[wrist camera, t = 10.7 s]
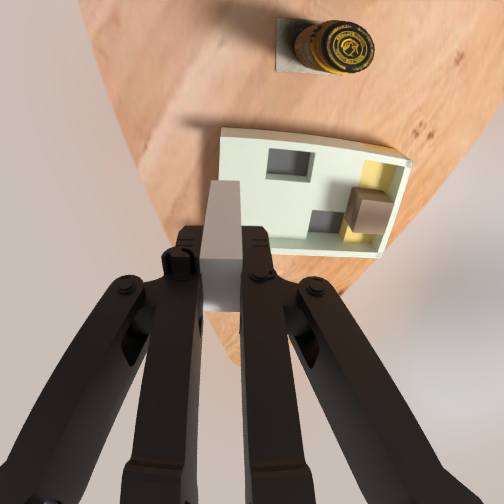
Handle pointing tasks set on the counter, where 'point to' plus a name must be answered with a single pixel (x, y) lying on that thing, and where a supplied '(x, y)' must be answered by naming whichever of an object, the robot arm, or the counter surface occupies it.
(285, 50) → the condiment
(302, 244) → the box
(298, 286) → the robot arm
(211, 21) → the counter surface
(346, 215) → the block
